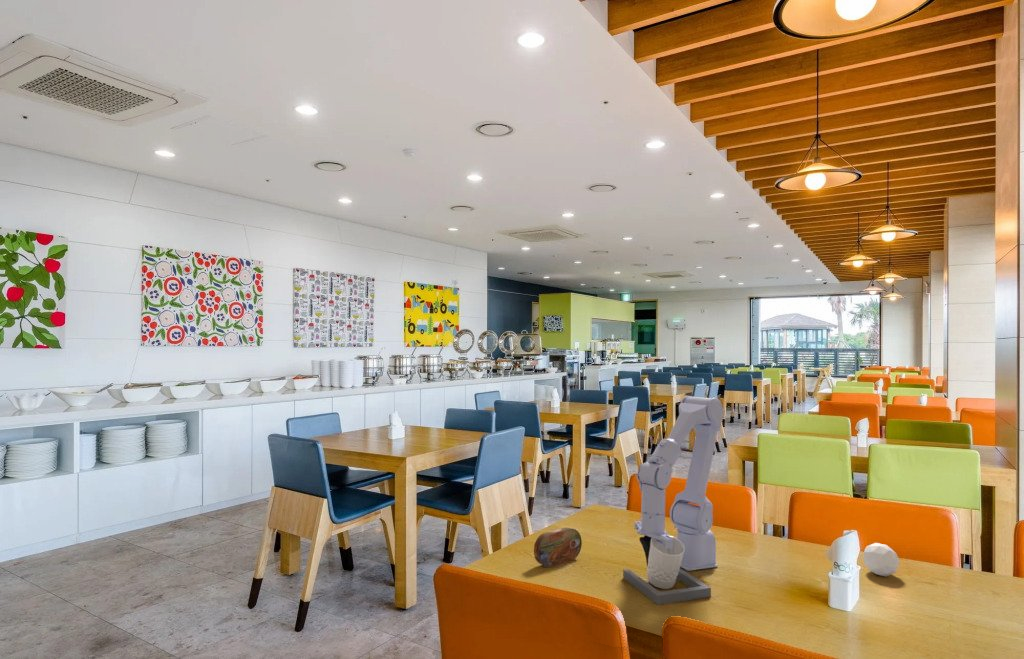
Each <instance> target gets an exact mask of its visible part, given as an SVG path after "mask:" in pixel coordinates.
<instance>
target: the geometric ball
mask: <svg viewBox="0 0 1024 659" xmlns="http://www.w3.org/2000/svg"><path fill="white" fill-rule="evenodd" d="M863 551H864V552H863V554H862V560H863V564H864V566H865V567H866V568H867V569H868V570H870V571H871V572H872V573H873V574H874V573H875V575H878V576H882V577H888V576H889V577H890V576H891V575H893V574H896V572H897V570H898V568H899V566H900V560H899V556H898V554H897V553H896V552H895V551H894V549H892V548H891V547H890V546H888V545H887V544H884V543H883V544H882V543H879V542H874V543H872V544H869V545H867V546H866V547H865V548H864V550H863Z"/></svg>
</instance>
